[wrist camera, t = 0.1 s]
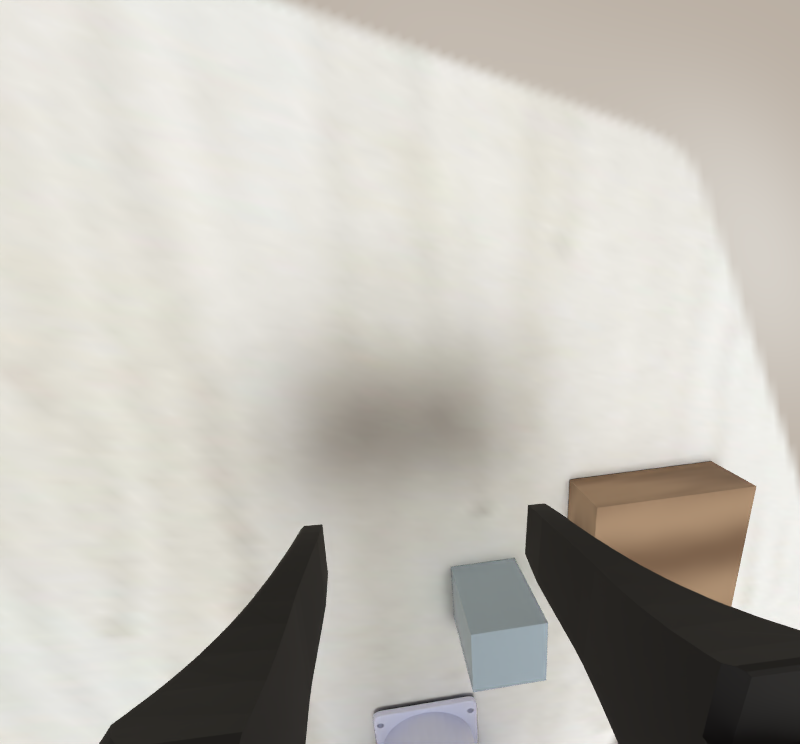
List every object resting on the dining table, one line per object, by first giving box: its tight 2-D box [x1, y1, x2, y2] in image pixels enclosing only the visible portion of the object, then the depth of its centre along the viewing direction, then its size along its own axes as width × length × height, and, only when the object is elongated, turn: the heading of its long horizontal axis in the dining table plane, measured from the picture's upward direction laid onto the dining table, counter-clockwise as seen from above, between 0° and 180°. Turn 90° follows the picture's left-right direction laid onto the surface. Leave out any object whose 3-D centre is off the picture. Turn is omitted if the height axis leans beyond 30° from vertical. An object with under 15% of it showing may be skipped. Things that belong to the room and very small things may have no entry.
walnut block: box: [568, 461, 756, 607], centre depth 25 cm, size 10×10×3 cm
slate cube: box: [451, 558, 548, 692], centre depth 24 cm, size 4×4×5 cm
